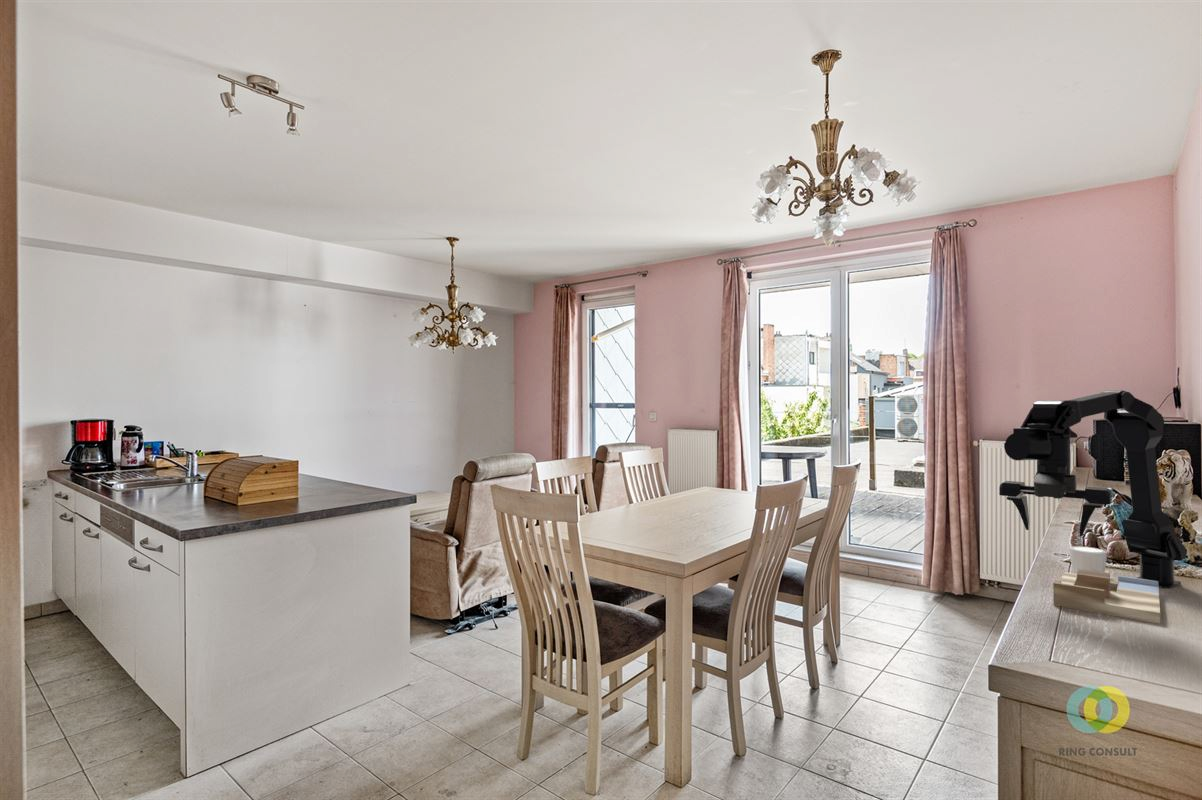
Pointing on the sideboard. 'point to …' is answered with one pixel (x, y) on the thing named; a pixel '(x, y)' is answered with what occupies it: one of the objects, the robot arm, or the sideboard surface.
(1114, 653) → the sideboard surface
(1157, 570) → the robot arm
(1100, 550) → the white cylinder
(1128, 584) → the strip
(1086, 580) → the walnut block
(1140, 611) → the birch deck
